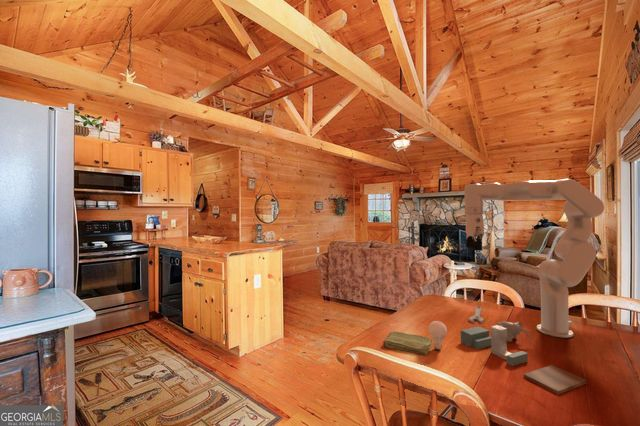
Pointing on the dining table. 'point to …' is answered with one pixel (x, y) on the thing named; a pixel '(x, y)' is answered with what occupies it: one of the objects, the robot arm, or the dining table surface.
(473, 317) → the adjustable wrench
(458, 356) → the dining table surface
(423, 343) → the washcloth
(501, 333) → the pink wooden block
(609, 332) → the dining table surface
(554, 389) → the walnut board
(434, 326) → the light bulb
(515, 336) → the grey monster figurine
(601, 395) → the dining table surface
